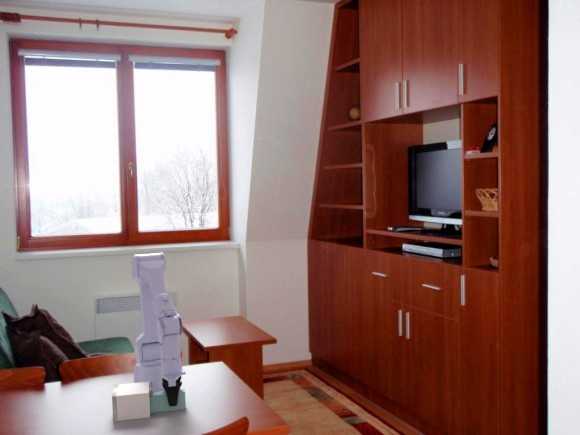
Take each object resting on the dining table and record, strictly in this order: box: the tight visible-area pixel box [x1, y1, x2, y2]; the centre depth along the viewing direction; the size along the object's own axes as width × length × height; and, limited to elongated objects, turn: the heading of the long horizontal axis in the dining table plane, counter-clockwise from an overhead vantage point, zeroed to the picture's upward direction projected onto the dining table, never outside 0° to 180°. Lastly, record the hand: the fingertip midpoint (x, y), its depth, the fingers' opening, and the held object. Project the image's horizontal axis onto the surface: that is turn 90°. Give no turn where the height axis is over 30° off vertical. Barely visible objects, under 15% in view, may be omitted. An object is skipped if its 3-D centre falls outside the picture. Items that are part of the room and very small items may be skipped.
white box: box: [111, 381, 153, 422], centre depth 182 cm, size 11×11×7 cm
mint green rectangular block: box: [150, 388, 187, 414], centre depth 184 cm, size 16×3×5 cm, turn 103°
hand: (172, 403), depth 185 cm, fingers closed on mint green rectangular block, 3 cm apart
